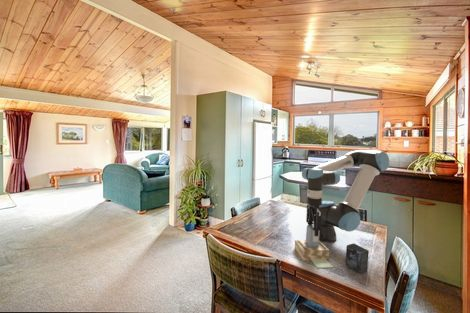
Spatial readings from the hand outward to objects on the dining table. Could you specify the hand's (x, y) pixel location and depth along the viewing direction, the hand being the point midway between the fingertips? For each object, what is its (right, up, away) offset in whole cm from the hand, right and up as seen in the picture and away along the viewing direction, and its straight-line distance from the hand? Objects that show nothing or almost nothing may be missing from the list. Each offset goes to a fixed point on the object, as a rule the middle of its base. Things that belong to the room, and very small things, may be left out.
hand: (312, 238), depth 119 cm
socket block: (-1, -8, 0) cm, 8 cm away
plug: (0, -6, 0) cm, 6 cm away
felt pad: (+1, -9, -9) cm, 13 cm away
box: (+17, -10, -13) cm, 23 cm away
